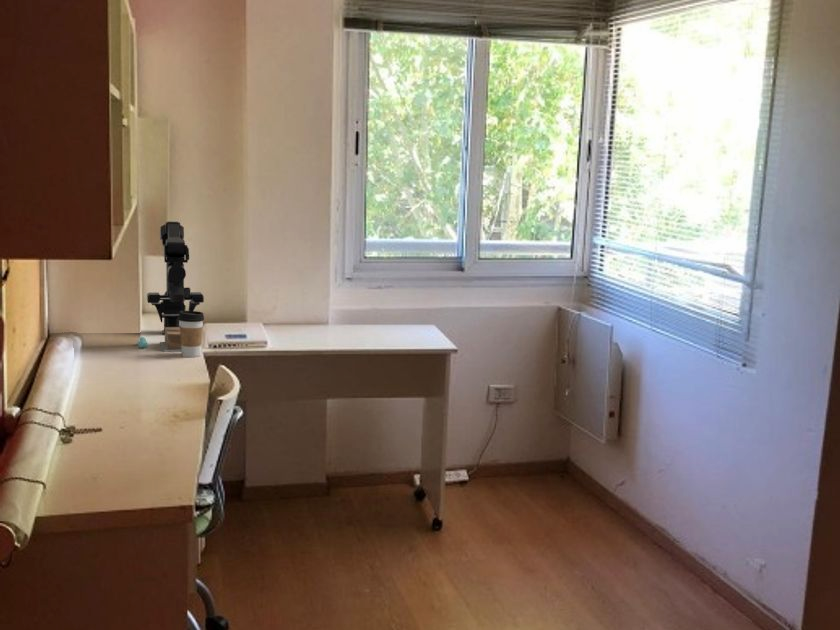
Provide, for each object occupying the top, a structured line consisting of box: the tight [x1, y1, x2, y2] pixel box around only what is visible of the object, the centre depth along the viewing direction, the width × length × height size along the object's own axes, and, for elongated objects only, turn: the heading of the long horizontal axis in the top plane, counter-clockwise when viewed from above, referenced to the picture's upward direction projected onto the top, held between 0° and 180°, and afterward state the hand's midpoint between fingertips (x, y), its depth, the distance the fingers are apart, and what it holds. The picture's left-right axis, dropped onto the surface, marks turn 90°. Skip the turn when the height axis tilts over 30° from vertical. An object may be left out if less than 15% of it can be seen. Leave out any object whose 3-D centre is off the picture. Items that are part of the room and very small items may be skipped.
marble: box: [137, 339, 148, 349], centre depth 313 cm, size 3×3×3 cm
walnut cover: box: [164, 327, 182, 350], centre depth 317 cm, size 12×6×6 cm, turn 20°
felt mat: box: [159, 341, 182, 353], centre depth 317 cm, size 14×9×1 cm, turn 20°
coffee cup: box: [178, 310, 205, 358], centre depth 305 cm, size 8×8×15 cm
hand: (175, 321), depth 315 cm, fingers open, 9 cm apart
